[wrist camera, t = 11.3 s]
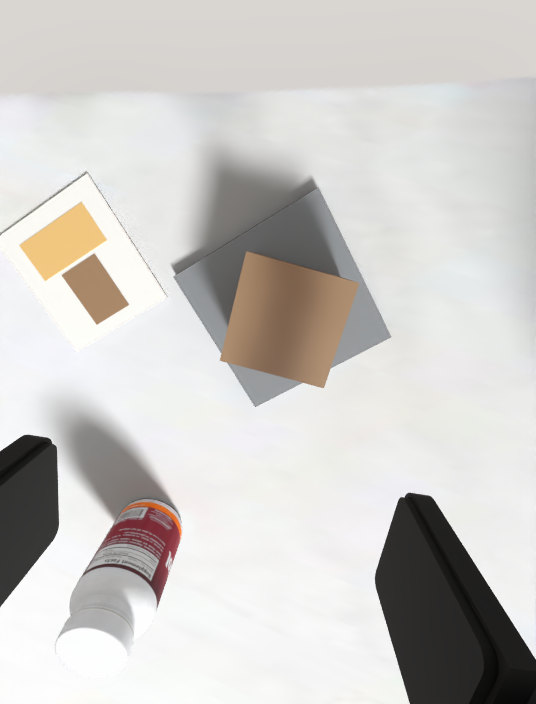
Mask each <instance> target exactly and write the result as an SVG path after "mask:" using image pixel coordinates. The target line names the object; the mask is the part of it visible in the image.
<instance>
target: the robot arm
mask: <svg viewBox="0 0 536 704" xmlns="http://www.w3.org/2000/svg"><path fill="white" fill-rule="evenodd" d="M58 527H59V511H58V472H57V447H56V446H55V445H54V444H52V441H51V440H50V439H49V438H46V437H39V436H33V435H24V436H22V437H20V438H19V439H17V440H16V441H14V442H13V443H12V444H10V445H9V446H7V447H6V448H4V449H3V450H2V451H0V607H1V605H2V604H3V603H4V601H5V600H6V599H7V598H8V596H9V595H10V594H11V593H12V591H13V590H14V589H15V588H16V586H17V585H18V584H19V583H20V581H21V580H22V579H23V578H24V576H25V575H26V574H27V573H28V571H29V570H30V569H31V567H32V566H33V565H34V564H35V562H36V561H37V560H38V559H39V557H40V556H41V555H42V554H43V552H44V551H45V550H46V549H47V547H48V546H49V545H50V544H51V542H52V541H53V539H54V538H55V536H56V534H57V531H58ZM375 584H376V590H377V593H378V596H379V600H380V603H381V607H382V610H383V613H384V617H385V620H386V624H387V627H388V630H389V634H390V637H391V641H392V644H393V648H394V651H395V654H396V658H397V661H398V665H399V668H400V671H401V675H402V678H403V682H404V685H405V688H406V692H407V695H408V699H409V702H410V704H536V659H535V658H534V656H533V655H532V653H531V651H530V650H529V648H528V647H527V645H526V644H525V642H524V640H523V639H522V637H521V636H520V634H519V633H518V631H517V629H516V628H515V626H514V625H513V623H512V622H511V620H510V618H509V617H508V615H507V614H506V612H505V611H504V609H503V607H502V606H501V604H500V603H499V601H498V600H497V598H496V596H495V595H494V593H493V592H492V590H491V589H490V587H489V585H488V584H487V582H486V581H485V579H484V578H483V576H482V574H481V573H480V571H479V570H478V568H477V567H476V565H475V563H474V562H473V560H472V559H471V557H470V556H469V554H468V553H467V551H466V549H465V548H464V546H463V545H462V543H461V542H460V540H459V538H458V537H457V535H456V534H455V532H454V531H453V529H452V527H451V526H450V524H449V523H448V521H447V520H446V518H445V516H444V515H443V513H442V512H441V510H440V509H439V507H438V505H437V504H436V502H435V501H434V499H433V498H432V497H431V496H427V495H421V494H414V493H407V494H406V496H405V498H403V497H401V498H400V499H399V501H398V503H397V506H396V510H395V513H394V516H393V519H392V522H391V526H390V529H389V532H388V535H387V538H386V541H385V545H384V548H383V551H382V554H381V557H380V560H379V564H378V567H377V570H376V574H375Z"/></svg>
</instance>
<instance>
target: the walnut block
mask: <svg viewBox="0 0 536 704" xmlns="http://www.w3.org/2000/svg"><path fill="white" fill-rule="evenodd" d="M358 286H359V283H358V282H355V281H352V280H349V279H346V278H343V277H340V276H336V275H332V274H329V273H325V272H322V271H318V270H315V269H311V268H307V267H304V266H300V265H297V264H293V263H290V262H286V261H283V260H279V259H275V258H272V257H268V256H265V255H261V254H258V253H254V252H247V251H246V254H245V258H244V262H243V267H242V271H241V275H240V279H239V283H238V287H237V292H236V296H235V300H234V304H233V308H232V312H231V317H230V321H229V325H228V329H227V333H226V337H225V342H224V346H223V350H222V354H221V358H220V361H223V362H227V363H231V364H235V365H238V366H242V367H246V368H250V369H253V370H257V371H261V372H265V373H269V374H272V375H276V376H280V377H284V378H287V379H291V380H295V381H299V382H302V383H306V384H310V385H314V386H318V387H321V388H324V386H325V383H326V380H327V377H328V374H329V371H330V368H331V365H332V362H333V359H334V357H335V354H336V351H337V348H338V345H339V342H340V339H341V336H342V333H343V330H344V327H345V324H346V321H347V318H348V315H349V313H350V310H351V307H352V304H353V301H354V298H355V295H356V292H357V289H358Z"/></svg>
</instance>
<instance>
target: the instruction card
mask: <svg viewBox="0 0 536 704" xmlns="http://www.w3.org/2000/svg"><path fill="white" fill-rule="evenodd" d="M0 250H1V251H2V253H3V254H4V255H5V257H6V258H7V259H8V261H9V262H10V263H11V265H12V266H13V267H14V269H15V270H16V271H17V273H18V274H19V275H20V277H21V278H22V280H23V281H24V282H25V284H26V285H27V286H28V288H29V289H30V290H31V292H32V293H33V294H34V296H35V297H36V298H37V300H38V301H39V302H40V304H41V305H42V306H43V308H44V309H45V310H46V312H47V313H48V314H49V316H50V317H51V319H52V320H53V321H54V323H55V324H56V325H57V327H58V328H59V329H60V331H61V332H62V333H63V335H64V336H65V337H66V339H67V340H68V341H69V343H70V344H71V345H72V347H73V348H74V349H75V351H76V352H78V351H80V350H82V349H83V348H85V347H87V346H88V345H90V344H92V343H93V342H95V341H97V340H98V339H100V338H101V337H103V336H105V335H106V334H108V333H110V332H111V331H113V330H115V329H116V328H118V327H120V326H121V325H123V324H125V323H126V322H128V321H130V320H131V319H133V318H134V317H136V316H138V315H139V314H141V313H143V312H144V311H146V310H148V309H149V308H151V307H153V306H154V305H156V304H158V303H159V302H161V301H163V300H164V299H166V298H167V295H166V294H165V292H164V291H163V289H162V288H161V286H160V285H159V283H158V281H157V280H156V278H155V277H154V275H153V274H152V272H151V271H150V269H149V267H148V266H147V264H146V263H145V261H144V260H143V258H142V257H141V255H140V253H139V252H138V250H137V249H136V247H135V246H134V244H133V243H132V241H131V239H130V238H129V236H128V235H127V233H126V232H125V230H124V229H123V227H122V225H121V224H120V222H119V221H118V219H117V218H116V216H115V215H114V213H113V211H112V210H111V208H110V207H109V205H108V204H107V202H106V201H105V199H104V197H103V196H102V194H101V193H100V191H99V190H98V188H97V187H96V185H95V183H94V182H93V180H92V179H91V177H90V176H89V174H85V175H84V176H83V177H81V178H80V179H78V180H77V181H76V182H74V183H73V184H71V185H70V186H69V187H67V188H66V189H64V190H63V191H62V192H60V193H59V194H57V195H56V196H55V197H53V198H52V199H50V200H49V201H48V202H46V203H45V204H43V205H42V206H41V207H39V208H38V209H36V210H35V211H34V212H32V213H31V214H29V215H28V216H27V217H25V218H24V219H22V220H21V221H20V222H18V223H17V224H15V225H14V226H13V227H11V228H10V229H8V230H7V231H6V232H4V233H3V234H1V235H0Z"/></svg>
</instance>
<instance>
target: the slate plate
mask: <svg viewBox="0 0 536 704" xmlns="http://www.w3.org/2000/svg"><path fill="white" fill-rule="evenodd" d="M246 251H247V252H254V253H258V254H261V255H265V256H268V257H272V258H275V259H279V260H283V261H286V262H290V263H293V264H297V265H300V266H304V267H307V268H311V269H315V270H318V271H322V272H325V273H329V274H332V275H336V276H340V277H343V278H346V279H349V280H352V281H355V282H358V283H359V286H358V289H357V292H356V295H355V298H354V301H353V304H352V307H351V310H350V313H349V315H348V318H347V321H346V324H345V327H344V330H343V333H342V336H341V339H340V342H339V345H338V348H337V351H336V354H335V357H334V359H333V362H332V365H331V368H332V367H334V366H336V365H338V364H340V363H342V362H344V361H346V360H348V359H350V358H352V357H354V356H356V355H358V354H360V353H361V352H363V351H365V350H367V349H369V348H371V347H373V346H375V345H377V344H379V343H381V342H383V341H385V340H387V339H389V338H391V336H390V334H389V332H388V329H387V327H386V325H385V323H384V321H383V319H382V317H381V315H380V313H379V311H378V309H377V307H376V305H375V303H374V301H373V299H372V297H371V295H370V293H369V291H368V288H367V286H366V284H365V282H364V280H363V278H362V276H361V274H360V272H359V270H358V268H357V266H356V264H355V262H354V260H353V258H352V256H351V254H350V252H349V249H348V247H347V245H346V243H345V241H344V239H343V237H342V235H341V233H340V231H339V229H338V227H337V225H336V223H335V221H334V219H333V217H332V215H331V213H330V211H329V208H328V206H327V204H326V202H325V200H324V198H323V196H322V194H321V192H320V190H319V188H316V189H315V190H313V191H312V192H310V193H308V194H307V195H305V196H303V197H302V198H300V199H299V200H297V201H295V202H294V203H292V204H290V205H289V206H287V207H286V208H284V209H282V210H281V211H279V212H277V213H276V214H274V215H273V216H271V217H269V218H268V219H266V220H264V221H263V222H261V223H260V224H258V225H256V226H255V227H253V228H251V229H250V230H248V231H247V232H245V233H243V234H242V235H240V236H238V237H237V238H235V239H234V240H232V241H230V242H229V243H227V244H226V245H224V246H222V247H221V248H219V249H217V250H216V251H214V252H213V253H211V254H209V255H208V256H206V257H204V258H203V259H201V260H200V261H198V262H196V263H195V264H193V265H191V266H190V267H188V268H187V269H185V270H183V271H182V272H180V273H178V274H177V275H175V276H174V279H175V280H176V282H177V283H178V285H179V287H180V288H181V290H182V291H183V293H184V295H185V296H186V298H187V299H188V301H189V303H190V304H191V306H192V307H193V309H194V310H195V312H196V314H197V315H198V317H199V318H200V320H201V322H202V323H203V325H204V326H205V328H206V330H207V331H208V333H209V334H210V336H211V338H212V339H213V341H214V342H215V344H216V345H217V347H218V349H219V350H220V352H221V353H222V350H223V346H224V342H225V337H226V333H227V329H228V325H229V321H230V317H231V312H232V308H233V304H234V300H235V296H236V292H237V287H238V283H239V279H240V275H241V271H242V267H243V262H244V258H245V254H246ZM228 365H229V366H230V368H231V369H232V371H233V372H234V374H235V376H236V377H237V379H238V380H239V382H240V384H241V385H242V387H243V388H244V390H245V392H246V393H247V395H248V396H249V398H250V400H251V401H252V403H253V404H254V406H255V407H256V406H258V405H260V404H262V403H264V402H266V401H268V400H270V399H272V398H274V397H276V396H278V395H280V394H282V393H284V392H286V391H287V390H289V389H291V388H293V387H295V386H297V385H299V384H301V383H302V382H299V381H295V380H291V379H287V378H284V377H280V376H276V375H272V374H269V373H265V372H261V371H257V370H253V369H250V368H246V367H242V366H238V365H235V364H231V363H228Z"/></svg>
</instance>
